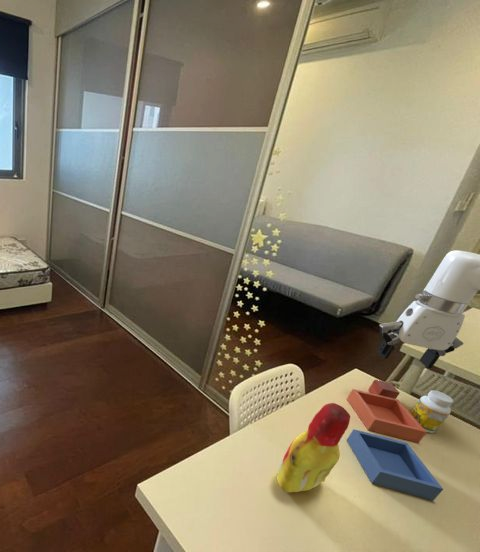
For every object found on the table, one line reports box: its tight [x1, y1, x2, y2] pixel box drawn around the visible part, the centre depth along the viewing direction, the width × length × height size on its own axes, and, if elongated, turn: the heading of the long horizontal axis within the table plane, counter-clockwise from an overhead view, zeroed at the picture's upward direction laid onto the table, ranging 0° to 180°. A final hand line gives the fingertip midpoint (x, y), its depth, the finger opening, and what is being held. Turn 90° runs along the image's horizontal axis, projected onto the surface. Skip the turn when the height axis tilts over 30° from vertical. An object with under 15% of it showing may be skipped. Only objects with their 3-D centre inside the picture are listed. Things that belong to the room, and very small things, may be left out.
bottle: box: [276, 402, 351, 493], centre depth 59 cm, size 12×6×20 cm, turn 112°
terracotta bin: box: [346, 388, 428, 444], centre depth 80 cm, size 11×11×4 cm
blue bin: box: [346, 428, 444, 502], centre depth 68 cm, size 11×11×4 cm
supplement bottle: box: [409, 389, 454, 434], centre depth 79 cm, size 5×5×10 cm
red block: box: [368, 379, 400, 399], centre depth 88 cm, size 4×4×4 cm
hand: (403, 360), depth 82 cm, fingers open, 9 cm apart
